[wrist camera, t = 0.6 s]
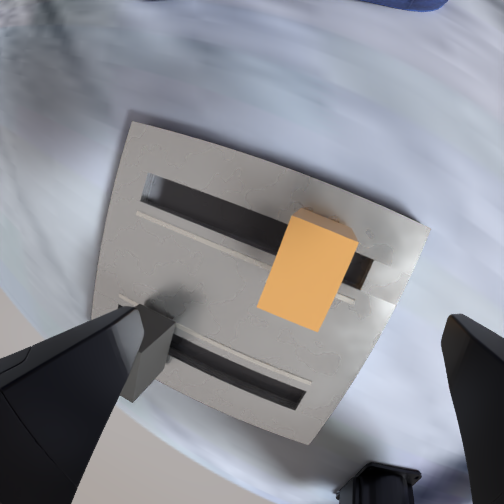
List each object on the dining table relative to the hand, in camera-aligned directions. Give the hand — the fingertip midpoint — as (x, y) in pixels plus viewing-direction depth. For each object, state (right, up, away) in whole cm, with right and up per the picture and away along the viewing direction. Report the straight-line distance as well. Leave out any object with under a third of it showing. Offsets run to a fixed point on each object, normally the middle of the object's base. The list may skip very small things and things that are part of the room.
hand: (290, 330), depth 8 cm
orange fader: (+3, +2, +11) cm, 11 cm away
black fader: (-8, -4, +15) cm, 17 cm away
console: (-2, -1, +14) cm, 14 cm away
